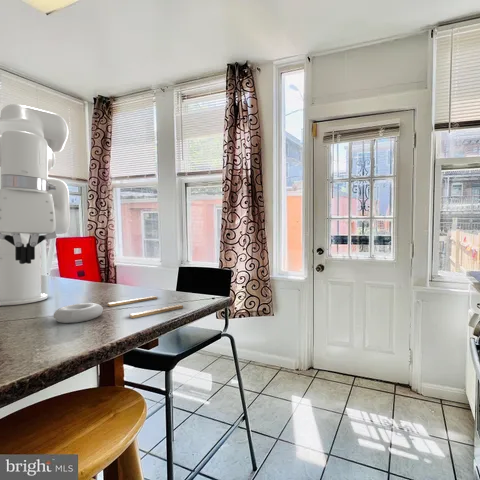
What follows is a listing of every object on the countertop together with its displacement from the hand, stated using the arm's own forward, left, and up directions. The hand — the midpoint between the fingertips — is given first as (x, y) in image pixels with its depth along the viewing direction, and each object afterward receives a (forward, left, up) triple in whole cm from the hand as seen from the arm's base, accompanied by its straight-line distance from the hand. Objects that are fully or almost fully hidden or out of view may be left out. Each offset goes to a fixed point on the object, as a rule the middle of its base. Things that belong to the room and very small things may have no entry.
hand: (25, 263), depth 64 cm
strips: (0, +26, -16) cm, 30 cm away
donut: (0, +10, -16) cm, 19 cm away
